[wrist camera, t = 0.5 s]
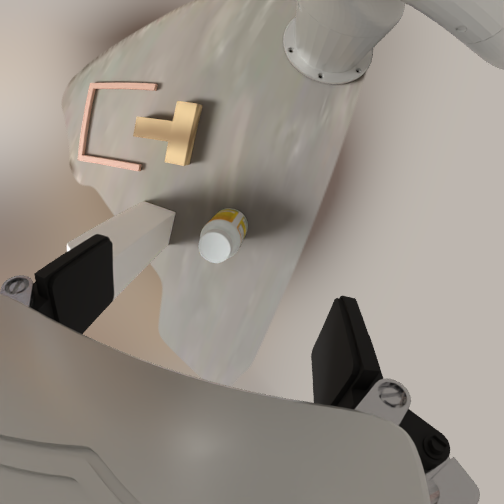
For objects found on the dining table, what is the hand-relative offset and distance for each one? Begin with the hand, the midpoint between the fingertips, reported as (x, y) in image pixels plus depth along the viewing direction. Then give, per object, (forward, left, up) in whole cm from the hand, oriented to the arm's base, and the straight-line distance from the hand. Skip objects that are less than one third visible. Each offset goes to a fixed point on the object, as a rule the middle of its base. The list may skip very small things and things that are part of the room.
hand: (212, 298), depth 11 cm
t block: (-4, -16, -30) cm, 35 cm away
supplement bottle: (+8, -4, -31) cm, 32 cm away
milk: (+11, -16, -31) cm, 36 cm away
